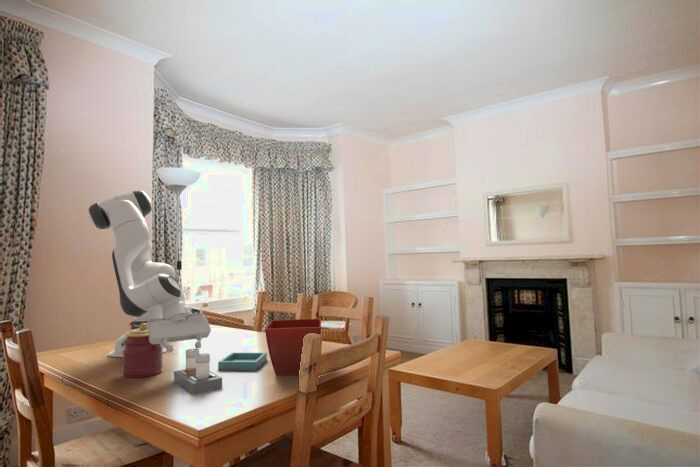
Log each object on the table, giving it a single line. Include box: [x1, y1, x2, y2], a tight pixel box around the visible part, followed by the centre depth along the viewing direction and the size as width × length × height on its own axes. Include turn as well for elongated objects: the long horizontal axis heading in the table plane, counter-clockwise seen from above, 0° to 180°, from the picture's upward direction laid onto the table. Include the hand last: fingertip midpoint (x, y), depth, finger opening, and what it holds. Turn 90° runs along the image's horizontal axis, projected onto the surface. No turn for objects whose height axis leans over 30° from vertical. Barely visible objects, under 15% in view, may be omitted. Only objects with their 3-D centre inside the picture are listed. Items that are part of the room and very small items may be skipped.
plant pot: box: [264, 318, 322, 376], centre depth 144 cm, size 19×19×17 cm
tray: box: [217, 352, 268, 372], centre depth 151 cm, size 14×14×3 cm
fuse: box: [196, 352, 211, 381], centre depth 126 cm, size 4×4×10 cm
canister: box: [121, 323, 164, 379], centre depth 142 cm, size 13×13×18 cm
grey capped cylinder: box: [185, 348, 200, 375], centre depth 133 cm, size 4×4×10 cm
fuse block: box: [173, 368, 223, 395], centre depth 129 cm, size 18×9×3 cm, turn 41°
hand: (184, 349), depth 136 cm, fingers open, 8 cm apart
